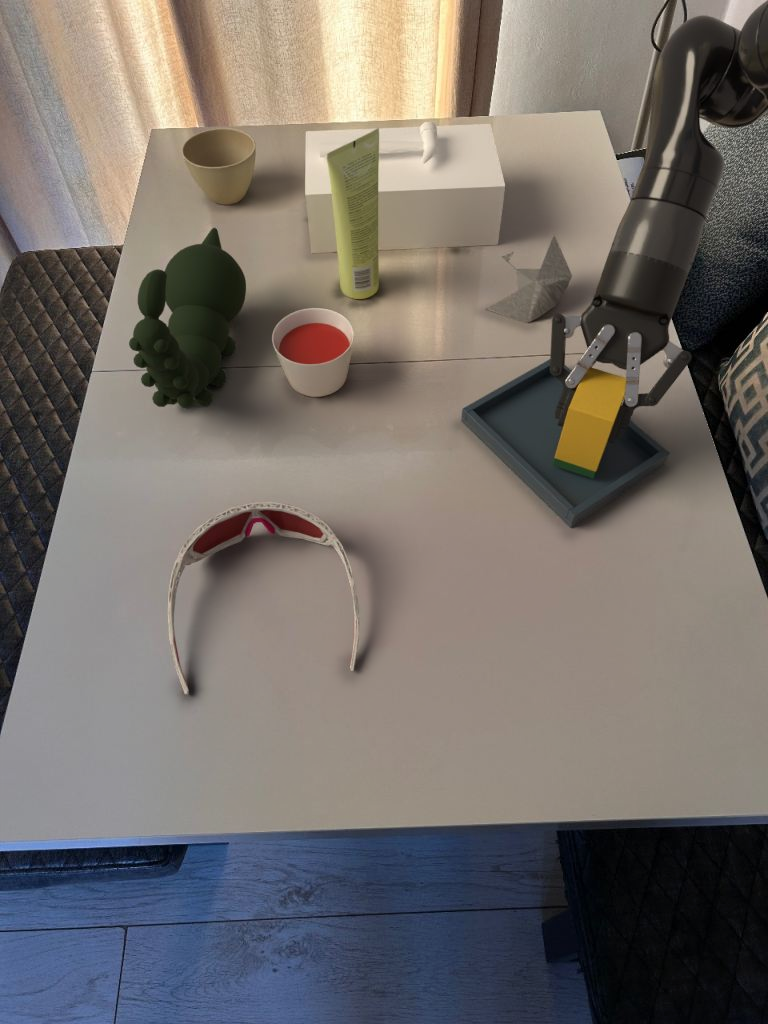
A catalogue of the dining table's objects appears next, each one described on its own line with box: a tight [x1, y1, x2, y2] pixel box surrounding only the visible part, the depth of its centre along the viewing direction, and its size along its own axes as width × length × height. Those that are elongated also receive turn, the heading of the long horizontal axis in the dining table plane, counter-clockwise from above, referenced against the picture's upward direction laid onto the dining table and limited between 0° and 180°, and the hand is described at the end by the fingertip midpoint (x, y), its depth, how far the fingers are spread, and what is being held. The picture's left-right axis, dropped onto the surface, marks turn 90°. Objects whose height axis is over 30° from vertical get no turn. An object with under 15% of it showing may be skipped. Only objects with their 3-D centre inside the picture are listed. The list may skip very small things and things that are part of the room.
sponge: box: [553, 367, 626, 479], centre depth 77 cm, size 4×6×9 cm
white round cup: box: [271, 307, 355, 398], centre depth 87 cm, size 9×9×6 cm
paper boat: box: [485, 234, 573, 324], centre depth 94 cm, size 12×6×9 cm
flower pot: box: [181, 127, 257, 206], centre depth 107 cm, size 10×10×7 cm
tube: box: [327, 127, 380, 300], centre depth 90 cm, size 6×5×20 cm
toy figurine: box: [128, 227, 247, 409], centre depth 84 cm, size 9×19×25 cm
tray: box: [460, 358, 671, 529], centre depth 82 cm, size 18×14×2 cm
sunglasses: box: [167, 501, 360, 696], centre depth 72 cm, size 17×17×5 cm
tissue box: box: [304, 121, 506, 254], centre depth 102 cm, size 14×25×11 cm, turn 93°
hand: (586, 433), depth 76 cm, fingers closed on sponge, 4 cm apart
